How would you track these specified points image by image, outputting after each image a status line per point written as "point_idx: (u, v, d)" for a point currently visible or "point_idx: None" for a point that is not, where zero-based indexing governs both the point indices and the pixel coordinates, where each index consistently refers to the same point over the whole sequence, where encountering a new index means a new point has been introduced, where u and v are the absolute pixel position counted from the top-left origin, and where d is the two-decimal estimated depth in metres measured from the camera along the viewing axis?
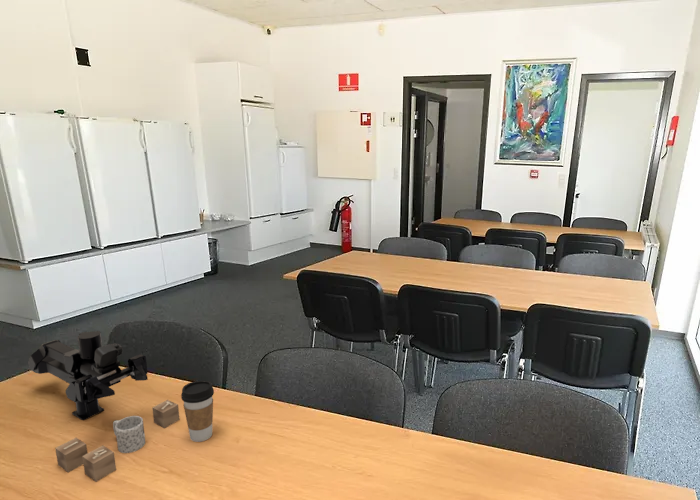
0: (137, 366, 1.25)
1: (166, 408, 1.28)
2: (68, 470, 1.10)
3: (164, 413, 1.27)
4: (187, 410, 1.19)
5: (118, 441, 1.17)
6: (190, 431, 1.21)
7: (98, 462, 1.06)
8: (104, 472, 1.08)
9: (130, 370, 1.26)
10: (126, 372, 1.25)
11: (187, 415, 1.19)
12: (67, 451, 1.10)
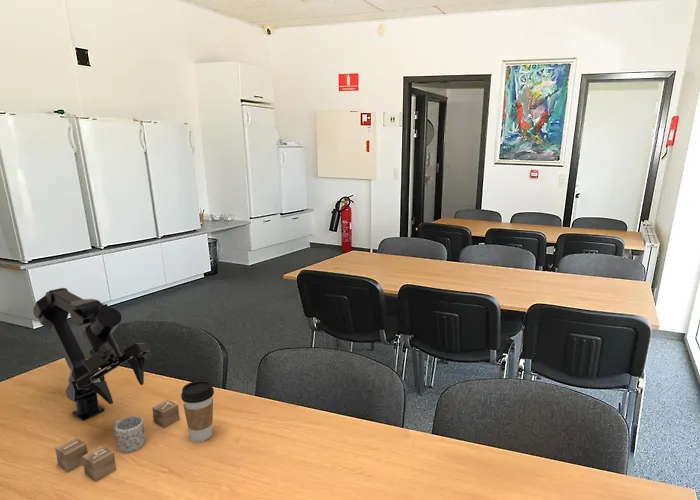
0: (132, 365, 1.18)
1: (166, 408, 1.28)
2: (68, 470, 1.10)
3: (164, 413, 1.27)
4: (187, 410, 1.19)
5: (118, 441, 1.17)
6: (190, 431, 1.21)
7: (98, 462, 1.06)
8: (104, 472, 1.08)
9: (129, 358, 1.20)
10: (125, 361, 1.20)
11: (187, 415, 1.19)
12: (67, 451, 1.10)
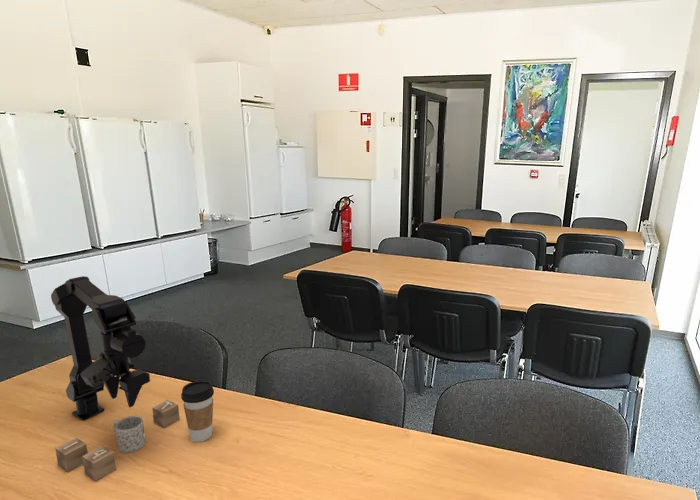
0: None
1: (166, 408, 1.28)
2: (68, 470, 1.10)
3: (164, 413, 1.27)
4: (187, 410, 1.19)
5: (118, 441, 1.17)
6: (190, 431, 1.21)
7: (98, 462, 1.06)
8: (104, 472, 1.08)
9: None
10: None
11: (187, 415, 1.19)
12: (67, 451, 1.10)
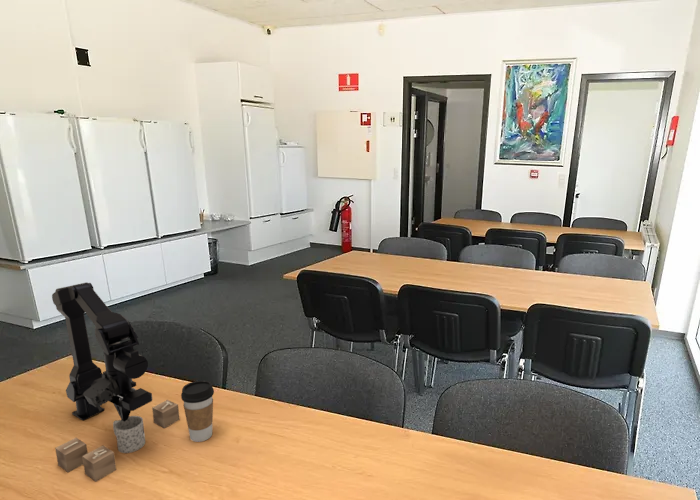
0: (118, 406, 1.16)
1: (166, 408, 1.28)
2: (68, 470, 1.10)
3: (164, 413, 1.27)
4: (187, 410, 1.19)
5: (118, 441, 1.17)
6: (190, 431, 1.21)
7: (98, 462, 1.06)
8: (104, 472, 1.08)
9: None
10: None
11: (187, 415, 1.19)
12: (67, 451, 1.10)
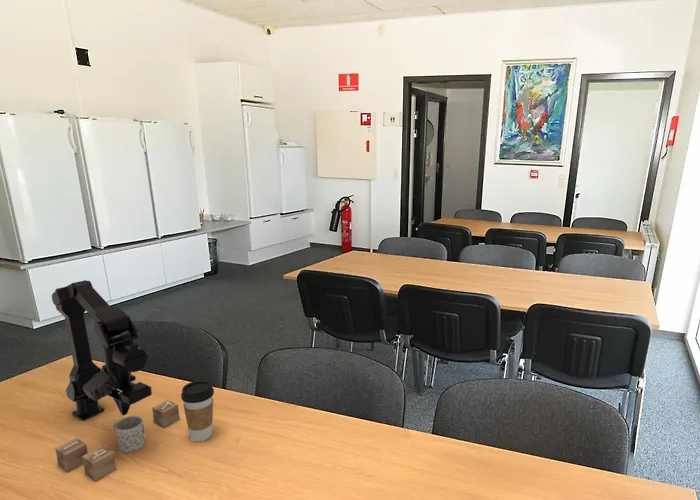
0: (118, 400, 1.16)
1: (166, 408, 1.28)
2: (68, 470, 1.10)
3: (164, 413, 1.27)
4: (187, 410, 1.19)
5: (118, 441, 1.17)
6: (190, 431, 1.21)
7: (98, 462, 1.06)
8: (104, 472, 1.08)
9: None
10: None
11: (187, 415, 1.19)
12: (67, 451, 1.10)
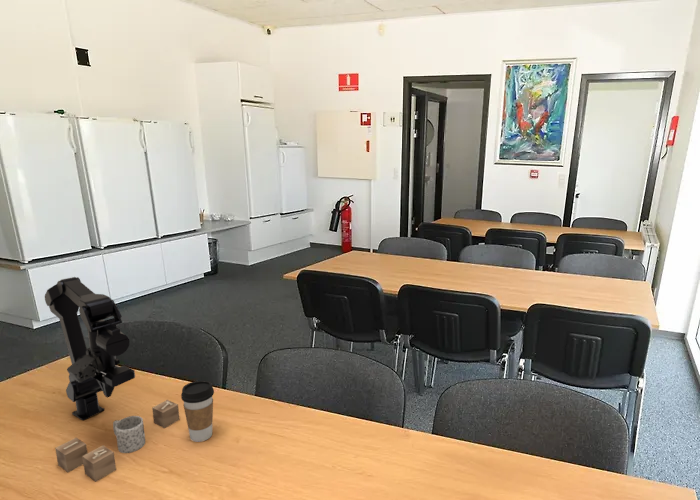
0: (102, 382, 1.19)
1: (166, 408, 1.28)
2: (68, 470, 1.10)
3: (164, 413, 1.27)
4: (187, 410, 1.19)
5: (118, 441, 1.17)
6: (190, 431, 1.21)
7: (98, 462, 1.06)
8: (104, 472, 1.08)
9: None
10: None
11: (187, 415, 1.19)
12: (67, 451, 1.10)
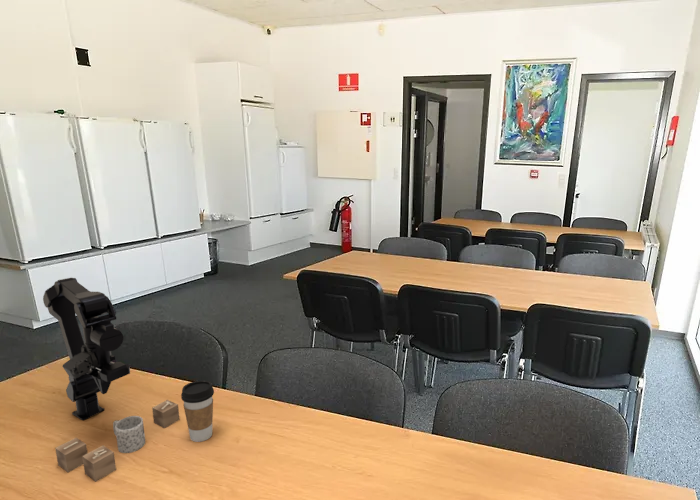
0: (97, 378, 1.20)
1: (166, 408, 1.28)
2: (68, 470, 1.10)
3: (164, 413, 1.27)
4: (187, 410, 1.19)
5: (118, 441, 1.17)
6: (190, 431, 1.21)
7: (98, 462, 1.06)
8: (104, 472, 1.08)
9: None
10: None
11: (187, 415, 1.19)
12: (67, 451, 1.10)
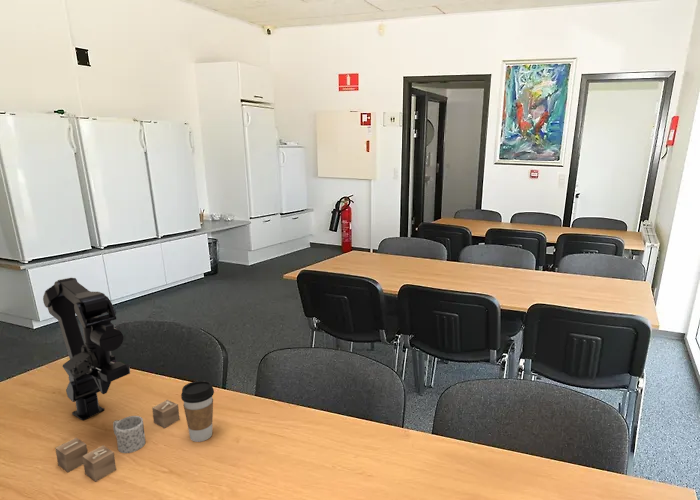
0: (97, 378, 1.20)
1: (166, 408, 1.28)
2: (68, 470, 1.10)
3: (164, 413, 1.27)
4: (187, 410, 1.19)
5: (118, 441, 1.17)
6: (190, 431, 1.21)
7: (98, 462, 1.06)
8: (104, 472, 1.08)
9: None
10: None
11: (187, 415, 1.19)
12: (67, 451, 1.10)
